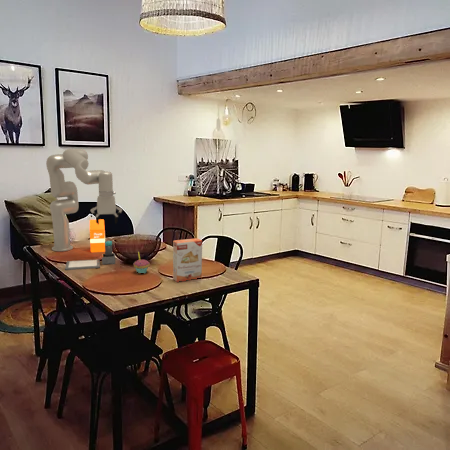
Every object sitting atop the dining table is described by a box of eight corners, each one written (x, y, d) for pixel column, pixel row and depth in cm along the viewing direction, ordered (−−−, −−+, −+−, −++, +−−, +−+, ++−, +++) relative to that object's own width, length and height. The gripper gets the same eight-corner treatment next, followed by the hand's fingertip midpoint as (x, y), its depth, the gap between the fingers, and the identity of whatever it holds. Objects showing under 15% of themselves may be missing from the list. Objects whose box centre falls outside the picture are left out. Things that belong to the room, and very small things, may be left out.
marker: (105, 260, 253) (104, 240, 250) (112, 260, 254) (112, 240, 251) (105, 262, 249) (104, 242, 246) (112, 262, 250) (112, 242, 248)
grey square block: (102, 261, 254) (101, 253, 253) (114, 260, 256) (114, 253, 255) (102, 264, 247) (101, 257, 246) (115, 264, 249) (115, 256, 248)
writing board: (67, 262, 250) (67, 260, 250) (99, 260, 255) (99, 259, 255) (65, 270, 237) (65, 268, 237) (99, 267, 242) (99, 266, 241)
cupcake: (130, 273, 233) (130, 252, 230) (139, 269, 241) (138, 248, 238) (144, 275, 230) (144, 254, 227) (152, 271, 238) (152, 250, 235)
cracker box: (177, 283, 220) (176, 242, 216) (172, 279, 225) (172, 240, 221) (202, 279, 227) (202, 240, 222) (197, 275, 232) (197, 237, 227)
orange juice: (91, 249, 279) (89, 218, 275) (105, 248, 281) (104, 218, 277) (90, 252, 271) (89, 221, 267) (105, 251, 274) (104, 220, 269)
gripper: (121, 192, 249) (122, 222, 253) (89, 193, 244) (91, 223, 248) (122, 194, 242) (122, 224, 245) (89, 195, 237) (90, 225, 241)
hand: (107, 223), depth 247 cm, fingers open, 9 cm apart
